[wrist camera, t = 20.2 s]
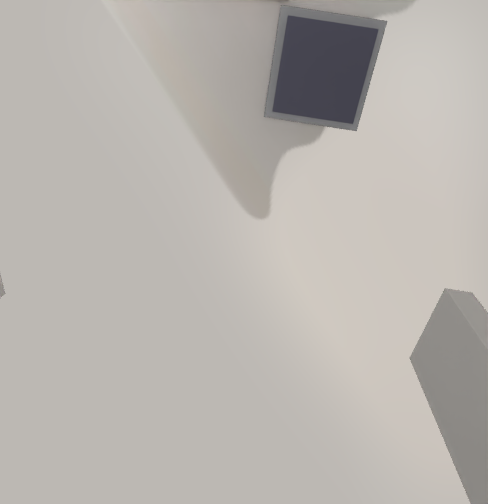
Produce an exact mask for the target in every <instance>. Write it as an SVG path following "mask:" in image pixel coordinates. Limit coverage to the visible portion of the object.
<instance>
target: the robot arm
mask: <svg viewBox="0 0 488 504" xmlns="http://www.w3.org/2000/svg"><path fill="white" fill-rule="evenodd" d="M4 294H5V291H4V287H3V284H2V279H1V275H0V298H1V297H2V296H3V295H4ZM410 360H411V363H412V365H413V367H414V370H415V372H416V374H417V377H418V379H419V382H420V384H421V386H422V389H423V391H424V393H425V396H426V398H427V401H428V403H429V406H430V408H431V410H432V413H433V415H434V417H435V420H436V422H437V424H438V427H439V429H440V432H441V434H442V436H443V439H444V441H445V444H446V446H447V448H448V451H449V453H450V455H451V458H452V460H453V463H454V465H455V467H456V470H457V472H458V474H459V477H460V479H461V482H462V484H463V486H464V489H465V491H466V493H467V496H468V498H469V501H470V503H471V504H488V313H487V311H486V310H485V309H484V307H483V306H482V305H481V304H480V302H479V301H478V300H477V298H476V297H475V296H474V295H473V293H471V292H464V291H458V290H452V289H444V291H443V294H442V295H441V297H440V299H439V301H438V303H437V305H436V307H435V309H434V311H433V313H432V315H431V317H430V319H429V321H428V323H427V325H426V327H425V329H424V331H423V333H422V335H421V337H420V339H419V341H418V343H417V345H416V347H415V348H414V350H413V352H412V355H411V357H410Z"/></svg>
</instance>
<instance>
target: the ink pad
mask: <svg viewBox="0 0 488 504" xmlns="http://www.w3.org/2000/svg"><path fill="white" fill-rule="evenodd" d="M386 24H387V21H384V20H377V19H370V18H364V17H357V16H351V15H344V14H337V13H331V12H324V11H318V10H311V9H305V8H298V7H291V6H285V5H281V9H280V15H279V22H278V28H277V35H276V42H275V48H274V55H273V61H272V68H271V74H270V81H269V88H268V94H267V101H266V107H265V114H264V117H269V118H275V119H282V120H288V121H295V122H301V123H308V124H314V125H321V126H327V127H333V128H340V129H346V130H353V131H357V127H358V124H359V120H360V117H361V113H362V109H363V105H364V102H365V99H366V95H367V92H368V88H369V84H370V81H371V77H372V74H373V70H374V66H375V63H376V59H377V56H378V52H379V48H380V45H381V42H382V38H383V34H384V31H385V27H386Z"/></svg>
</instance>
